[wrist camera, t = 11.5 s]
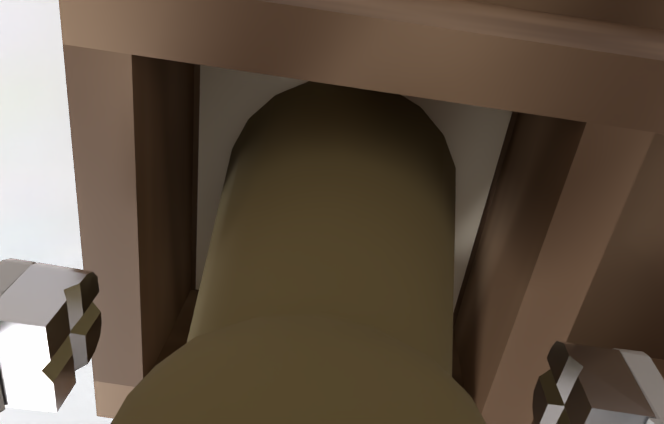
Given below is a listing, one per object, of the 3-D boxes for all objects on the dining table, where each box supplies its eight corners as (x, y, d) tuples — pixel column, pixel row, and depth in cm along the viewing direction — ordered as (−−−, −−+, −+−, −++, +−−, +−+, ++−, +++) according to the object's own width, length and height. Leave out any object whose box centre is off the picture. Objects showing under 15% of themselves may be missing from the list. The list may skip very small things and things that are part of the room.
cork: (500, 133, 14) (768, 630, 4) (397, 312, 17) (424, 857, 7) (269, 37, 13) (-8, 383, 4) (201, 241, 16) (-57, 738, 7)
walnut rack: (1036, 43, 13) (1356, 111, 9) (780, 406, 19) (900, 555, 15) (106, -96, 13) (-25, -96, 9) (127, 310, 19) (52, 430, 15)
